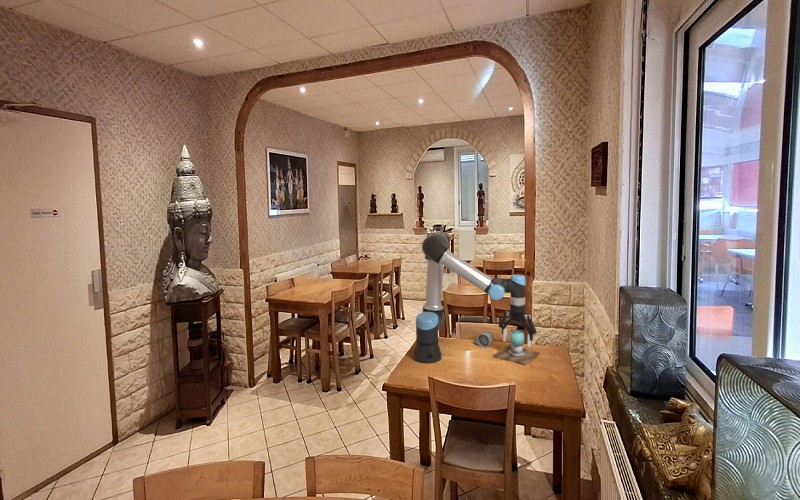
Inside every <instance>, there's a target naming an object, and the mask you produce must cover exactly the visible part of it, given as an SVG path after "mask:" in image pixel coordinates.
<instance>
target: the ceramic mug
mask: <svg viewBox="0 0 800 500" xmlns="http://www.w3.org/2000/svg"><path fill="white" fill-rule="evenodd" d="M493 341H494V335H493V333H491V332H490V331H484V332H481V333H479V335H477V337H476V339H475V340H473V343H474V344H475V345H476V344H477V345H478V346H479V347H482V348H487V347H488V346H489V345H491V344H492V343H493Z"/></svg>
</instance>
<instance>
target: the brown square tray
mask: <svg viewBox="0 0 800 500" xmlns="http://www.w3.org/2000/svg"><path fill="white" fill-rule="evenodd" d="M523 347H524V345H522V346H515V345H512V344H508V345H505V347H503V348H502V349H500V350H499V351H497V352H496V353H494V354H493V355H492V357H493V358H495V359H498V360H503V361H507V362H511V363H512V364H513V363H514V364H517V365H522V366H525V367H526V366H527V365H529V364H530V363H531V362H532V361H534V360H535V359H536V358H538V357H539V356H540V355H541V352H539V351H535V350H530V349H527V348H523ZM538 355H539V356H538ZM537 356H538V357H537ZM533 359H534V360H533Z"/></svg>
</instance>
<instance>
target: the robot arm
mask: <svg viewBox="0 0 800 500" xmlns="http://www.w3.org/2000/svg"><path fill="white" fill-rule="evenodd" d="M421 250H422V253H423V254H424V259H425V261H427V269H426V288H425V289H426V290H425V303H424V304H423V306H422V312H421V313H418V314H417V316H416V318H415V332H416V333H415V335H416V336H415V340H416V341H415V345H414V351H413V353H412V357H413V360H415V361H416V362H419V363H422V364H423V363H424V364H431V363H437V362H439V361H441V360H442V358H443V356H442V355H443V354H442V353H443V352H442V351H441V348H440V344H439V330H440V329H441V327H442V326H443V324H444V322H445V311H444V305H442V294H443V291H442V290H443V276H444V274H443V273H444V272H443V271H444V267H446V268H448V269H449V270H450V271H452V272H453V273H455V274H457V275H458V276H460V277H462V279H465V281H467V282H469V283H470V284H471V285H473V286H475V287H476V288H478V289H479V290H481V291H483V292H484V293H485V294H487V295H488V296H489V298H490V299H491V300H493V301H499V300H501V299H503V297H504V296H505V294H510V296H509V297H510V301H509V302H510V305H509V310H505V311H504V313H503V317H502V319H501V321H500V323H499V324H498V328H501V335H503V336H502V337H503V339H502V341H503V342H506V341H507V339H508V328H507V327H508V326H509V325H510V324H511V323H512V322H517V323H520V324H522V326H523V328H524V329H525V330H526V331H527V333H528V334H527V348H528V347H529V348H530V347H531V346H532V341H533V340H534V335H535V334H537V333H538V331H537V329H536V327H535V324H534V322H533V320H532V315H531V314H526V305H525V304H526V290H527V289H526V282H527V281H526V279H527V278H526V276H525V275H524V274H511V275H510V278H503V277H502V278H501V277H499V278H497V277H490V276H488V275H487V274H486V273H484V272H482V271H480V269H477V268H476V267H474V266H473V265H471V264H470V263H468V262H467V261H465V260H464V259H462V258H461V257H459V256H458V255H456V254H454V253H453V252H451V251H450V248H449V241H448V239H447V237H446V236H445V235H443V234H441V233H433V234H431V235H429V236H427V237H426V238H424V239H423V241H422V244H421ZM508 316H509V317H510V318H509V319H508V320H507V318H508ZM525 318H526V319H525ZM506 320H507V322H506Z"/></svg>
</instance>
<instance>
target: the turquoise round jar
mask: <svg viewBox="0 0 800 500" xmlns="http://www.w3.org/2000/svg"><path fill="white" fill-rule="evenodd" d="M509 343H510V344H509V345H511V344H512V345H515V346H522V345H523V346H524V345H525V332H524V331H523V330H522V329H517V330H516V329H515V330H510V331H509Z"/></svg>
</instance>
